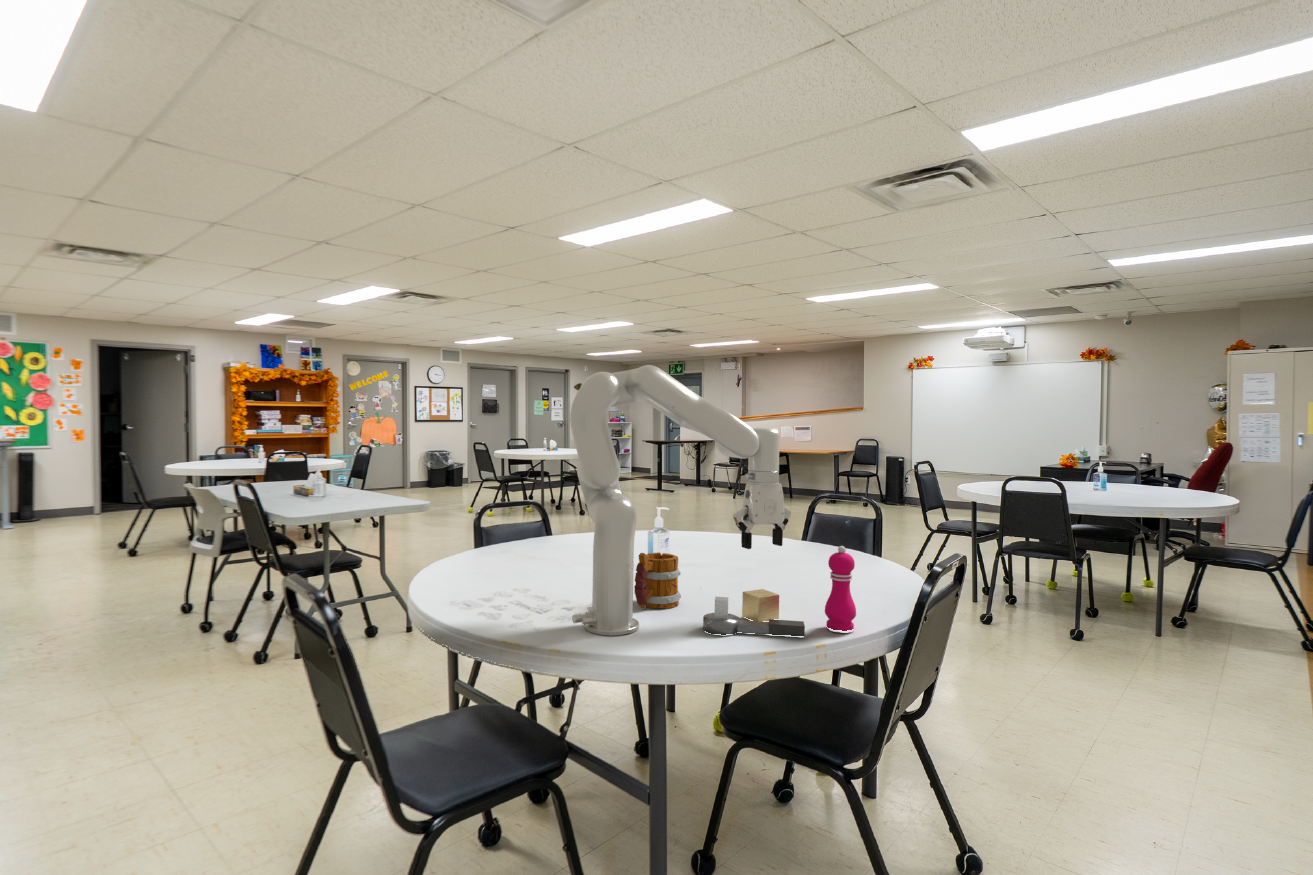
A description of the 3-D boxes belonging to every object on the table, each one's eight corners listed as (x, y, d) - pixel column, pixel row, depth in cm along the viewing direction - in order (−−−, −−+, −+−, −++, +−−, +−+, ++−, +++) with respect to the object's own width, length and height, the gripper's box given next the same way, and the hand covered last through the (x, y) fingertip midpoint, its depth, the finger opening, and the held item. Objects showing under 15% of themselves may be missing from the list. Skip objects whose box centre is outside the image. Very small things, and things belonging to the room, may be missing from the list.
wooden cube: (758, 624, 157) (758, 597, 157) (742, 617, 162) (742, 591, 162) (778, 621, 160) (779, 594, 160) (762, 614, 165) (762, 588, 165)
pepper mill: (832, 623, 159) (833, 542, 159) (860, 629, 154) (862, 545, 154) (819, 629, 153) (821, 545, 153) (848, 636, 149) (850, 550, 148)
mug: (687, 602, 175) (688, 547, 175) (653, 616, 162) (654, 557, 161) (654, 596, 181) (655, 542, 181) (619, 609, 168) (620, 551, 167)
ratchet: (701, 634, 148) (702, 602, 148) (704, 623, 156) (705, 593, 156) (805, 641, 145) (806, 608, 144) (802, 630, 153) (803, 598, 153)
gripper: (744, 480, 153) (743, 552, 153) (800, 478, 161) (798, 546, 162) (726, 477, 160) (724, 546, 160) (780, 475, 168) (779, 541, 168)
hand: (762, 546), depth 161 cm, fingers open, 9 cm apart
